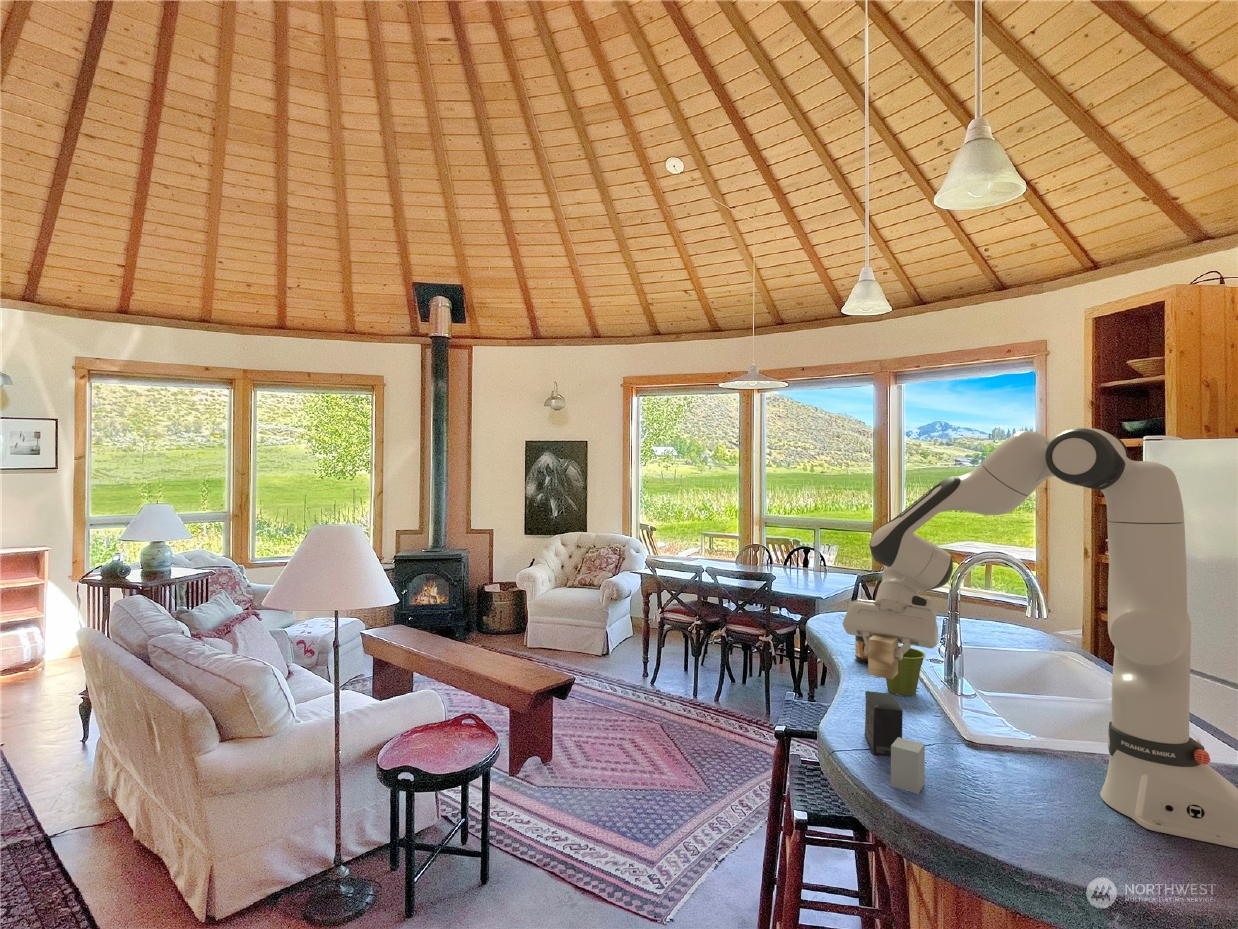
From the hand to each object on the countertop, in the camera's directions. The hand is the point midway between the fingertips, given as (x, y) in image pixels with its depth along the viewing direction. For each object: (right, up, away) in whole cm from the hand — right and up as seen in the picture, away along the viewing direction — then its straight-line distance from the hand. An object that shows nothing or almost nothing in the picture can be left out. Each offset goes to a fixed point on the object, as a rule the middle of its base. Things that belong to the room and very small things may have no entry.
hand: (882, 655), depth 142 cm
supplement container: (+22, -20, +61) cm, 68 cm away
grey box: (-2, -21, -17) cm, 27 cm away
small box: (0, -21, +1) cm, 21 cm away
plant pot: (+19, -21, +34) cm, 44 cm away
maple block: (0, -4, 0) cm, 4 cm away
